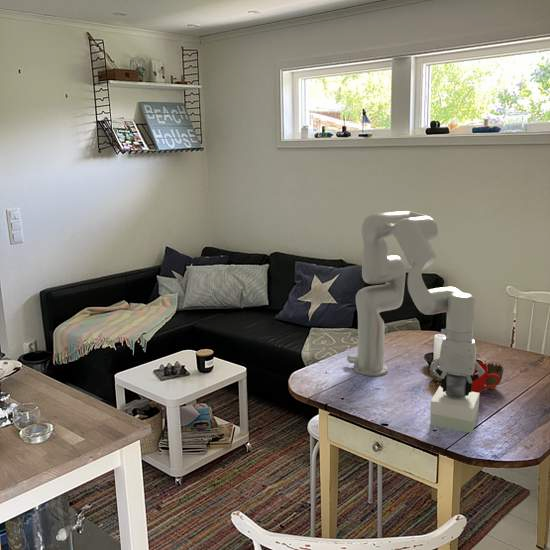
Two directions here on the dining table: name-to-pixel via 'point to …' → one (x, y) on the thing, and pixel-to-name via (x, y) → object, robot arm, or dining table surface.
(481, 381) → the ceramic cup
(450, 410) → the tower top block
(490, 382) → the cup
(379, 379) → the dining table surface
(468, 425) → the tower base block
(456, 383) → the slate drum
